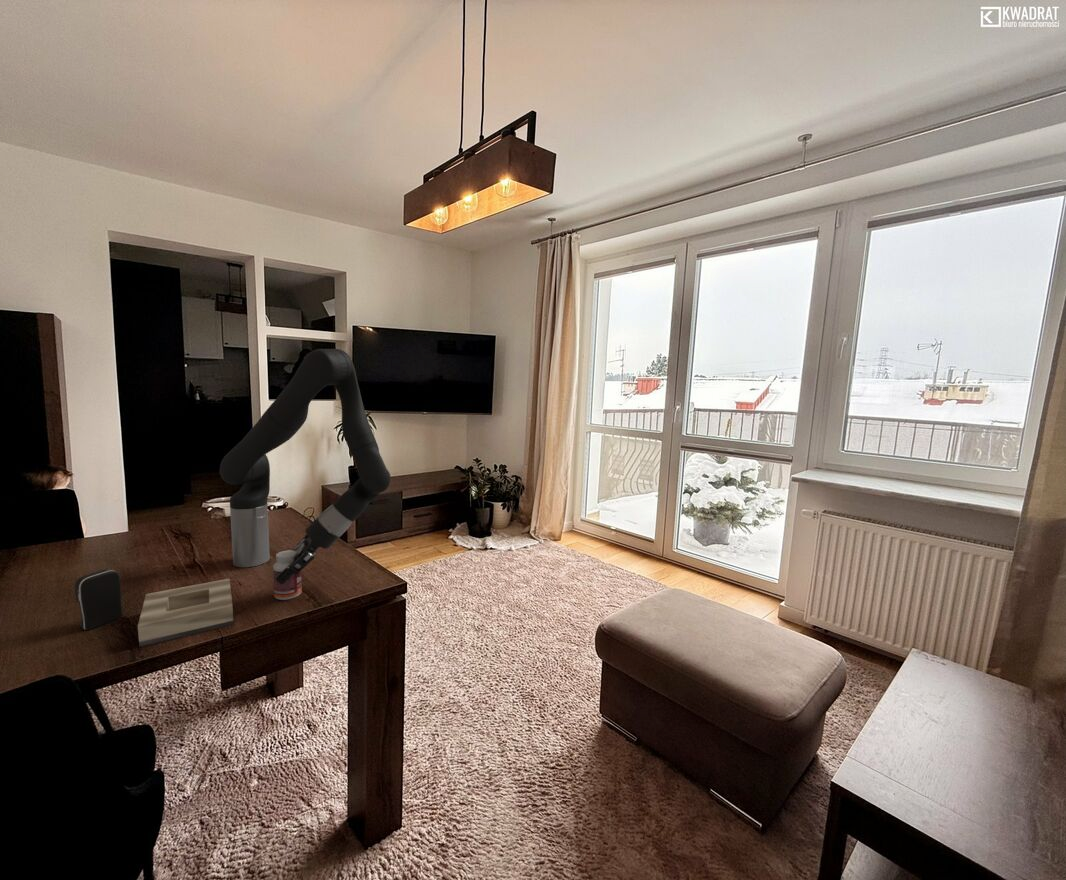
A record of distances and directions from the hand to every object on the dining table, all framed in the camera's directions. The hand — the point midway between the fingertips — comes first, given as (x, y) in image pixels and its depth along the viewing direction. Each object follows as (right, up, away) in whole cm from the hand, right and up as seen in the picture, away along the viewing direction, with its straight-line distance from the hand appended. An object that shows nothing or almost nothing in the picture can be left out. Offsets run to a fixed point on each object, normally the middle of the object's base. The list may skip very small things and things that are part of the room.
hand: (279, 576), depth 115 cm
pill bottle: (+1, -5, +1) cm, 6 cm away
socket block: (-14, -6, -11) cm, 19 cm away
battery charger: (-32, -6, -14) cm, 35 cm away
